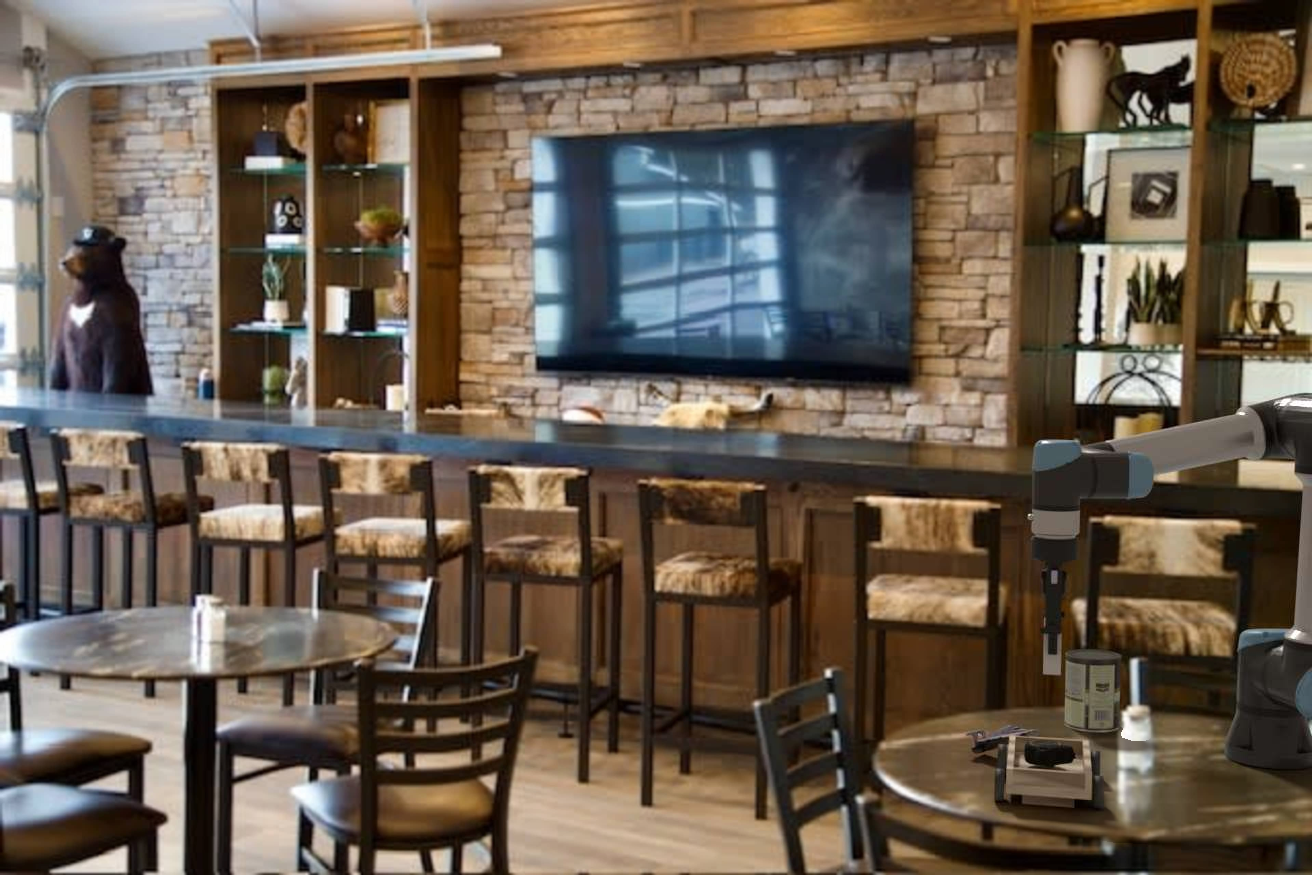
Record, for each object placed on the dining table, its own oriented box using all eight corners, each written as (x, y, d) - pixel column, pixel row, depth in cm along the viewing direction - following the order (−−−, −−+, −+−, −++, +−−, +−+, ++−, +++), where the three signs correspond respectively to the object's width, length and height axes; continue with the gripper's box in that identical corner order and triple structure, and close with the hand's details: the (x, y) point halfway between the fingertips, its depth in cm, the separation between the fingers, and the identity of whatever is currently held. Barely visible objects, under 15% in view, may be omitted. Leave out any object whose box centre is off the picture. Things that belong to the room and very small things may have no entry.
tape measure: (1041, 771, 260) (1041, 748, 260) (1015, 763, 266) (1015, 741, 266) (1076, 767, 263) (1075, 744, 263) (1050, 760, 269) (1050, 738, 269)
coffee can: (1089, 718, 314) (1091, 646, 313) (1131, 730, 306) (1133, 656, 305) (1051, 725, 309) (1053, 651, 308) (1092, 736, 300) (1095, 661, 299)
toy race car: (1045, 735, 278) (1038, 711, 280) (1024, 735, 275) (1018, 712, 276) (987, 753, 288) (981, 730, 289) (966, 754, 284) (961, 731, 286)
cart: (998, 768, 277) (998, 734, 277) (1098, 775, 273) (1099, 740, 273) (993, 804, 256) (994, 767, 255) (1103, 813, 252) (1104, 775, 251)
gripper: (1031, 525, 275) (1028, 649, 276) (1030, 544, 250) (1027, 680, 252) (1077, 527, 273) (1074, 652, 274) (1080, 546, 249) (1076, 682, 250)
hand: (1051, 665), depth 263 cm, fingers open, 13 cm apart
